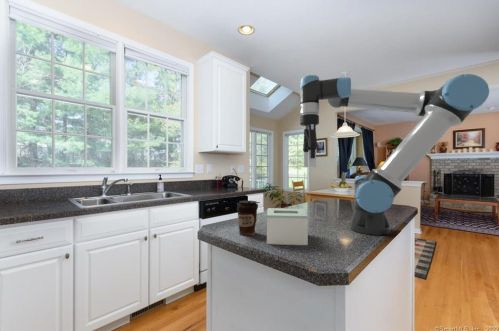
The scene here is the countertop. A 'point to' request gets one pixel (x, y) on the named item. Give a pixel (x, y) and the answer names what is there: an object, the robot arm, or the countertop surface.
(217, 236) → the countertop surface
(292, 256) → the countertop surface
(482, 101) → the robot arm
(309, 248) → the countertop surface
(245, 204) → the coffee cup
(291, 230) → the coin box
